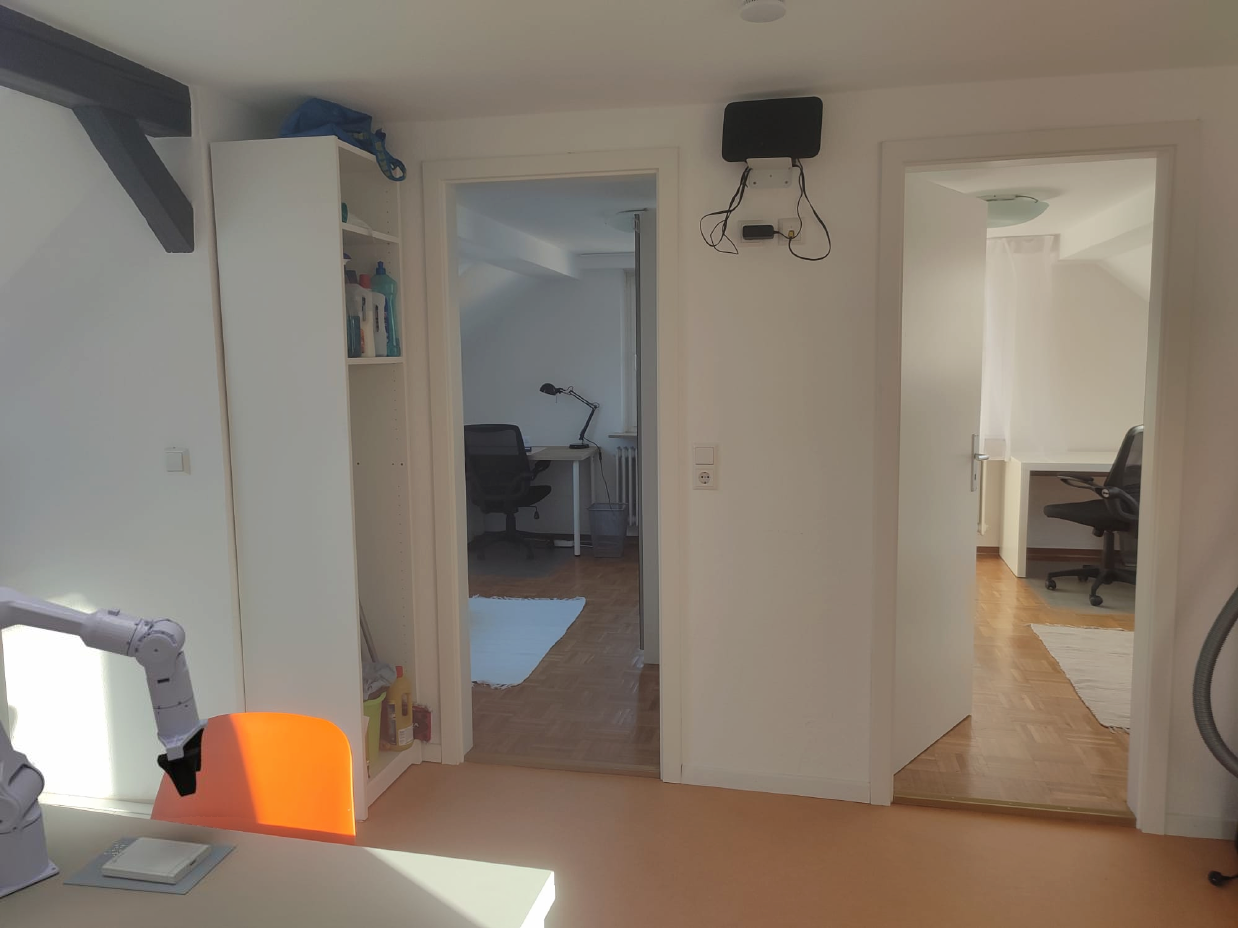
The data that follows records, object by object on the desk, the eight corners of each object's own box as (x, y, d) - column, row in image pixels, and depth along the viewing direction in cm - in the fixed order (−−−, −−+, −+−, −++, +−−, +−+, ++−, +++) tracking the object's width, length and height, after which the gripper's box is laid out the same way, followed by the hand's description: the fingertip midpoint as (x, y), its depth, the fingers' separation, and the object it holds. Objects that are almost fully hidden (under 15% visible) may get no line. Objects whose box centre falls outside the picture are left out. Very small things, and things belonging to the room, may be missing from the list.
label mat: (63, 883, 129) (63, 882, 129) (122, 837, 141) (122, 836, 141) (185, 894, 125) (185, 893, 125) (235, 846, 137) (235, 845, 137)
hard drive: (100, 866, 130) (173, 874, 127) (142, 835, 138) (211, 842, 135) (102, 876, 130) (174, 885, 127) (143, 845, 138) (212, 852, 135)
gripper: (197, 711, 128) (215, 796, 130) (206, 677, 142) (222, 755, 144) (143, 724, 126) (163, 810, 128) (157, 688, 139) (175, 767, 142)
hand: (191, 782), depth 136 cm, fingers open, 7 cm apart
